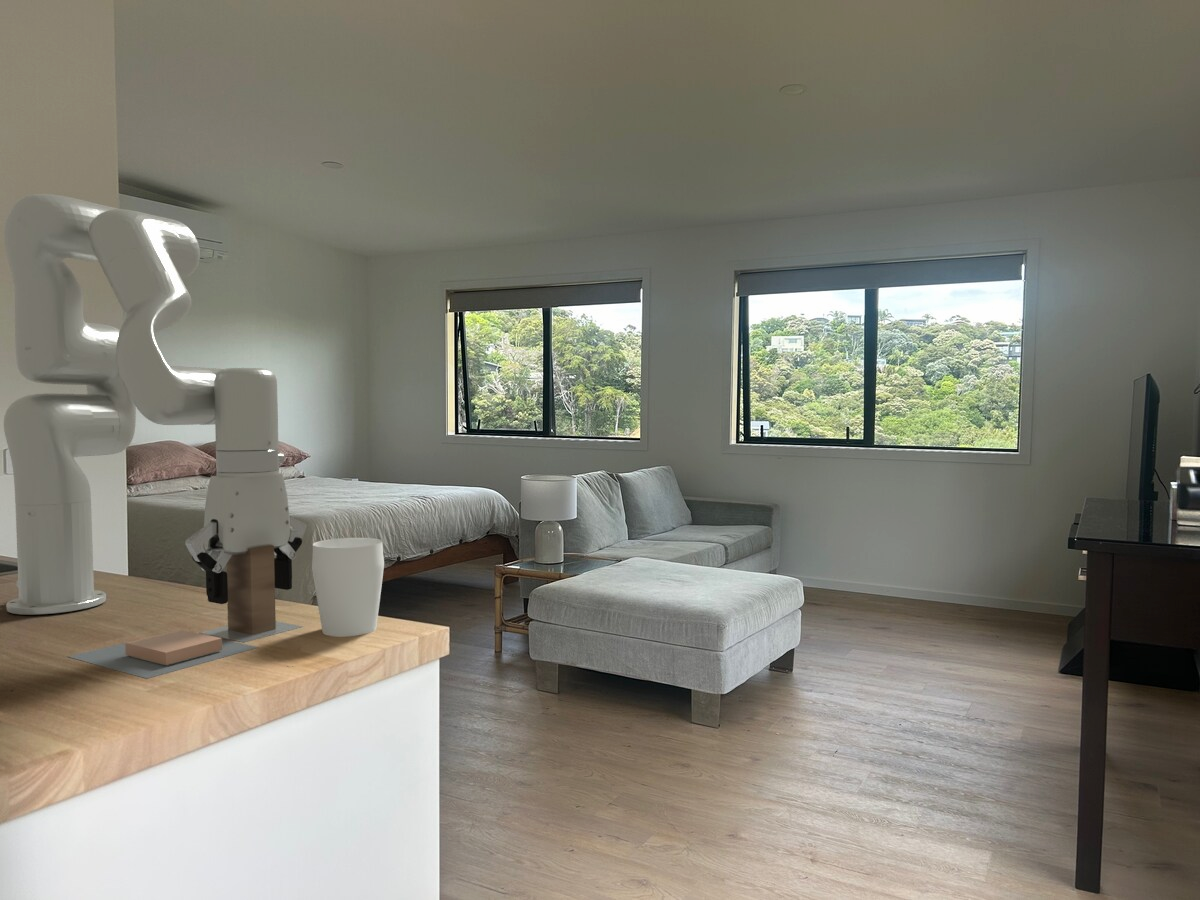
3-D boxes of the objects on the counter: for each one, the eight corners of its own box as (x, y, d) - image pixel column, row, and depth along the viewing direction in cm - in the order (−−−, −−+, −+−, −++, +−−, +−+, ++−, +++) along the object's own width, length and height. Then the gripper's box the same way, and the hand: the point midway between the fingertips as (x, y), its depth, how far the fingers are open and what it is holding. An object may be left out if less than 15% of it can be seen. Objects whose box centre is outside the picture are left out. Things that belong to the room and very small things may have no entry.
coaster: (199, 637, 112) (199, 632, 112) (259, 622, 120) (259, 618, 120) (244, 647, 107) (244, 642, 107) (303, 630, 115) (303, 626, 115)
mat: (67, 661, 101) (67, 656, 101) (179, 634, 113) (179, 629, 113) (147, 683, 93) (147, 678, 93) (259, 652, 105) (259, 647, 105)
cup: (310, 629, 116) (308, 540, 115) (379, 622, 119) (377, 535, 119) (316, 646, 107) (314, 550, 107) (390, 638, 111) (389, 545, 110)
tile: (125, 642, 101) (166, 652, 97) (181, 629, 107) (221, 638, 103) (125, 656, 101) (166, 666, 97) (181, 642, 107) (222, 651, 103)
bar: (228, 629, 113) (226, 545, 113) (251, 624, 116) (249, 542, 116) (252, 635, 111) (250, 549, 110) (275, 629, 114) (273, 545, 113)
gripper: (284, 459, 122) (287, 581, 123) (167, 467, 107) (171, 605, 108) (321, 461, 118) (323, 586, 119) (205, 469, 103) (208, 612, 104)
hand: (251, 595), depth 113 cm, fingers open, 9 cm apart
